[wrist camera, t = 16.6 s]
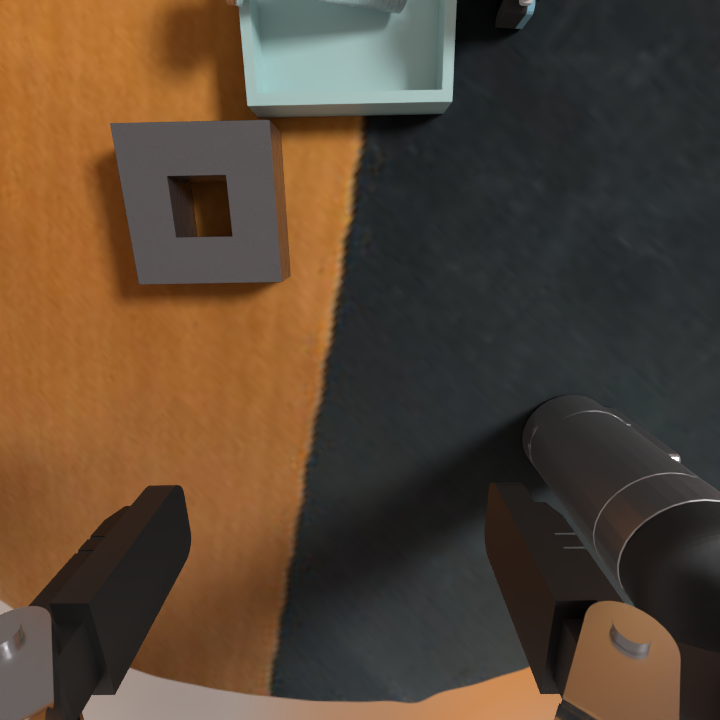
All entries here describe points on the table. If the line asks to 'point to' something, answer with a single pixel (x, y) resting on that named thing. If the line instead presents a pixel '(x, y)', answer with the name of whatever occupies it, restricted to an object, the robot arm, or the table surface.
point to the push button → (514, 13)
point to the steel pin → (355, 4)
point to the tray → (347, 58)
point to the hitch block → (175, 205)
